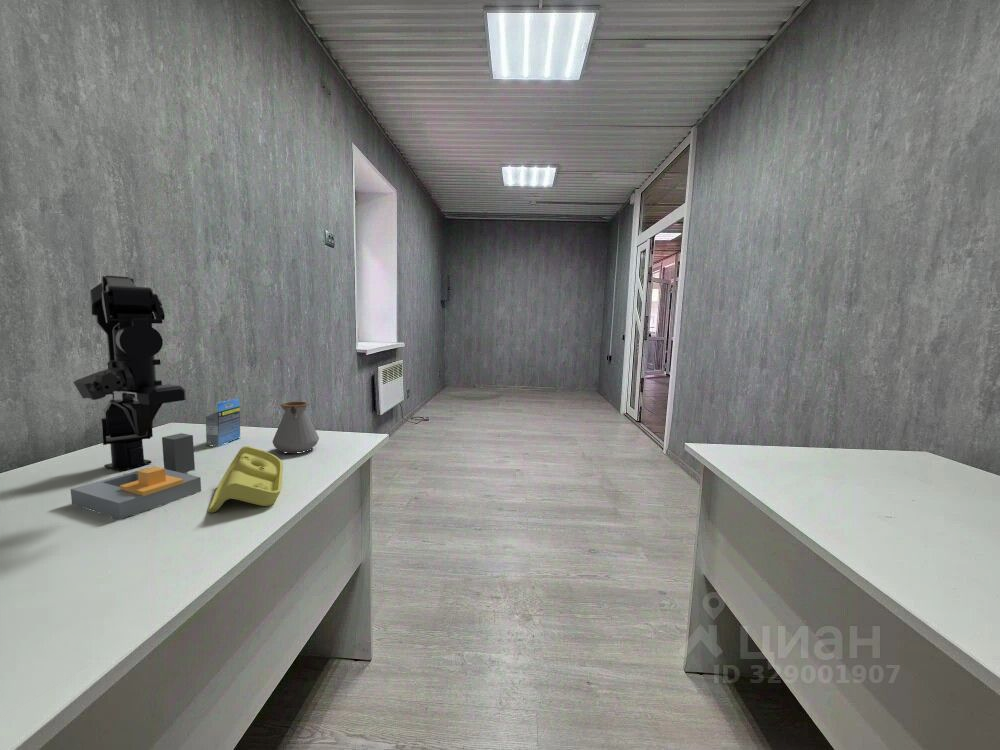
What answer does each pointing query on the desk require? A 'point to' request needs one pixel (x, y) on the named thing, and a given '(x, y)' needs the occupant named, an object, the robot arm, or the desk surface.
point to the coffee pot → (295, 429)
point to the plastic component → (250, 479)
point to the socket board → (130, 494)
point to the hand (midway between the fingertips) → (140, 435)
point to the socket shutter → (151, 481)
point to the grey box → (178, 453)
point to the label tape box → (223, 423)
